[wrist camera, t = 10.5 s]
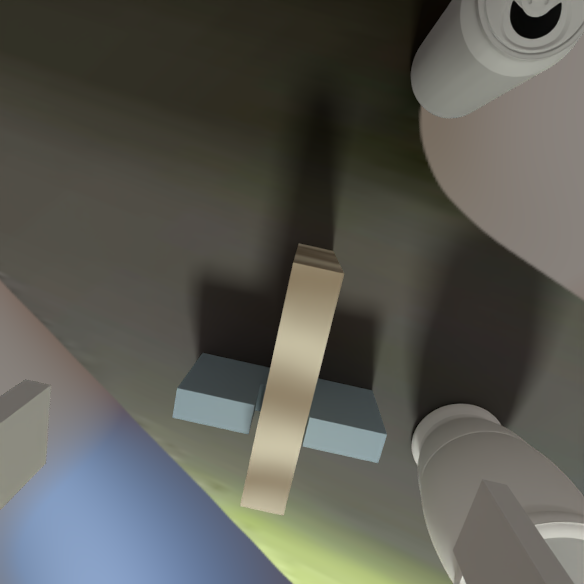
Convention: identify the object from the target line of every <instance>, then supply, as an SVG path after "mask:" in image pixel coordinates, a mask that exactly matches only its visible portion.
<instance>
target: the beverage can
mask: <svg viewBox="0 0 584 584" xmlns="http://www.w3.org/2000/svg"><path fill="white" fill-rule="evenodd" d="M583 33H584V0H452V1H451V2H450V4H449V5H448V7H447V8H446V10H445V11H444V13H443V14H442V15H441V17H440V18H439V20H438V21H437V23H436V24H435V25H434V27H433V28H432V30H431V31H430V33H429V34H428V36H427V37H426V38H425V40H424V41H423V43H422V44H421V46H420V47H419V49H418V51H417V53H416V55H415V57H414V60H413V64H412V68H411V84H412V89H413V92H414V94H415V97H416V98H417V100H418V102H419V103H420V104H421V106H422V107H423V108H425V109H426V110H427V111H429V112H430V113H432V114H434V115H436V116H439V117H443V118H457V117H462V116H465V115H467V114H469V113H471V112H473V111H475V110H477V109H478V108H480V107H482V106H483V105H485V104H487V103H489V102H491V101H492V100H494V99H496V98H498V97H499V96H501V95H503V94H504V93H506V92H508V91H510V90H512V89H513V88H515V87H517V86H518V85H520V84H522V83H524V82H526V81H527V80H529V79H531V78H533V77H534V76H536V75H538V74H539V73H541V72H543V71H545V70H546V69H548V68H550V67H551V66H553V65H555V64H556V63H557V62H559V61H560V60H561V59H562V58H563V57H564V56H566V55H567V54H568V53H569V51H570V50H571V49H572V48H573V47H574V45H575V44H576V43H577V41H578V39H579V38H580V37H581V35H582V34H583Z"/></svg>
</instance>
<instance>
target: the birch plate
mask: <svg viewBox="0 0 584 584" xmlns="http://www.w3.org/2000/svg"><path fill="white" fill-rule="evenodd" d="M343 276H344V272H343V270H342V268H341V266H340V264H339V262H338V260H337V258H336V256H335V254H334V252H333V251H331V250H327V249H322V248H318V247H313V246H309V245H304V244H300V243H299V244H298V248H297V251H296V255H295V258H294V262H293V266H292V271H291V275H290V280H289V284H288V289H287V293H286V298H285V303H284V307H283V312H282V316H281V321H280V325H279V330H278V335H277V339H276V344H275V348H274V353H273V357H272V362H271V367H270V371H269V376H268V380H267V385H266V390H265V394H264V399H263V403H262V408H261V412H260V417H259V422H258V426H257V431H256V435H255V440H254V444H253V449H252V454H251V458H250V463H249V467H248V472H247V476H246V481H245V486H244V490H243V495H242V499H241V504H240V506H242V507H247V508H252V509H256V510H261V511H265V512H270V513H274V514H279V515H284V511H285V507H286V503H287V499H288V495H289V491H290V487H291V483H292V479H293V475H294V471H295V467H296V463H297V459H298V455H299V451H300V447H301V443H302V439H303V435H304V431H305V427H306V423H307V419H308V415H309V412H310V408H311V404H312V400H313V396H314V392H315V388H316V384H317V380H318V376H319V372H320V368H321V364H322V360H323V356H324V352H325V348H326V344H327V340H328V336H329V332H330V328H331V324H332V320H333V316H334V312H335V308H336V304H337V300H338V296H339V292H340V288H341V284H342V280H343Z"/></svg>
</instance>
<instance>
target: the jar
mask: <svg viewBox="0 0 584 584" xmlns="http://www.w3.org/2000/svg"><path fill="white" fill-rule="evenodd" d="M412 454H413V457H414V460H415V462H416V464H417V465H418V482H419V488H420V492H421V500H422V507H423V512H424V517H425V521H426V525H427V528H428V531H429V534H430V537H431V540H432V542H433V545H434V547H435V550H436V552H437V554H438V556H439V558H440V560H441V562H442V564H443V566H444V568H445V570H446V572H447V574H448V575H449V577H450V579H451V580H452V582H453V584H466V582H465V580H464V577H463V575H462V572H461V570H460V567H459V565H458V562H457V560H456V557H455V555H454V552H453V549H454V546H455V544H456V541H457V539H458V537H459V534H460V532H461V529H462V527H463V524H464V522H465V520H466V517H467V515H468V512H469V510H470V508H471V505H472V503H473V500H474V498H475V496H476V493H477V491H478V488H479V486H480V483H481V481H482V479H483V480H488V481H492V482H497V483H501V484H506V485H507V486H508V487H509V489H510V490H511V492H512V493H513V494H514V496H515V497H516V499H517V500H518V502H519V503H520V505H521V506H522V508H523V509H524V511H525V512H526V514H527V515H528V516H529V518H530V519H531V521H532V522H533V524H534V525H535V527H536V528H537V530H538V531H539V533H540V534H541V536H542V537H543V538H544V540H545V541H546V543H547V544H548V546H549V547H550V549H551V550H552V552H553V553H554V555H555V556H556V558H557V559H558V561H559V562H560V563H561V565H562V566H563V568H564V569H565V571H566V572H567V574H568V575H569V577H570V578H571V580H572V581H573V583H574V584H584V496H583V495H582V494H581V492H580V491H579V490H578V489H577V487H576V486H575V485H574V484H573V483H572V482H571V480H570V479H569V478H568V477H567V476H566V475H565V474H564V473H563V472H562V471H561V470H560V469H559V468H558V467H557V466H556V465H555V464H554V463H552V462H551V461H550V460H549V459H548V458H547V457H545V456H544V455H543V454H542V453H540V452H539V451H537V450H536V449H535V448H533V447H532V446H530V445H529V444H528V443H526V442H525V441H524V440H523V439H522V438H520V437H519V436H518V435H516V434H515V433H513V432H512V431H510V430H509V429H507V428H505V427H503V426H501V424H500V422H499V421H498V420H497V419H496V417H495V416H494V415H492V414H491V413H490V412H488V411H487V410H485V409H483V408H481V407H478V406H475V405H471V404H451V405H447V406H443V407H440V408H438V409H436V410H434V411H432V412H431V413H429V414H428V415H427V416H426V417H425V418H424V419H423V420H422V421H421V422H420V423H419V424H418V426H417V428H416V429H415V432H414V434H413V438H412Z"/></svg>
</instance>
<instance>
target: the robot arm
mask: <svg viewBox="0 0 584 584" xmlns="http://www.w3.org/2000/svg"><path fill="white" fill-rule="evenodd" d="M50 394H51V385H48V384H44V383H39V382H35V381H30V380H24V381H23V382H21V383H19V384H18V385H16V386H15V387H13V388H12V389H10V390H9V391H7V392H6V393H4V394H3V395H1V396H0V510H1V509H2V508H3V507H4V506H5V505H6V504H7V503H8V502H9V501H10V499H12V497H13V496H14V495H15V494H16V493H17V492H18V491H19V490H20V489H21V488H22V487H23V486H24V485H25V484H26V483H27V482H28V481H29V480H30V479H31V478H32V477H33V476H34V475H35V474H36V473H37V472H38V471H39V470H40V468H41V467H42V466H43V465H44V464H45V463H46V453H47V439H48V423H49V408H50ZM453 552H454V555H455V557H456V560H457V562H458V565H459V567H460V570H461V572H462V575H463V577H464V580H465V582H466V584H574V583H573V581H572V580H571V578H570V577H569V575H568V574H567V572H566V571H565V569H564V568H563V566H562V565H561V563H560V562H559V561H558V559H557V558H556V556H555V555H554V553H553V552H552V550H551V549H550V547H549V546H548V544H547V543H546V541H545V540H544V538H543V537H542V536H541V534H540V533H539V531H538V530H537V528H536V527H535V525H534V524H533V522H532V521H531V519H530V518H529V516H528V515H527V514H526V512H525V511H524V509H523V508H522V506H521V505H520V503H519V502H518V500H517V499H516V497H515V496H514V494H513V493H512V492H511V490H510V489H509V487H508V486H507V485H506V484H501V483H497V482H492V481H488V480H483V479H482V481H481V483H480V486H479V488H478V491H477V493H476V496H475V498H474V500H473V503H472V505H471V508H470V510H469V512H468V515H467V517H466V520H465V522H464V524H463V527H462V529H461V532H460V534H459V537H458V539H457V541H456V544H455V546H454V549H453Z"/></svg>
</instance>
